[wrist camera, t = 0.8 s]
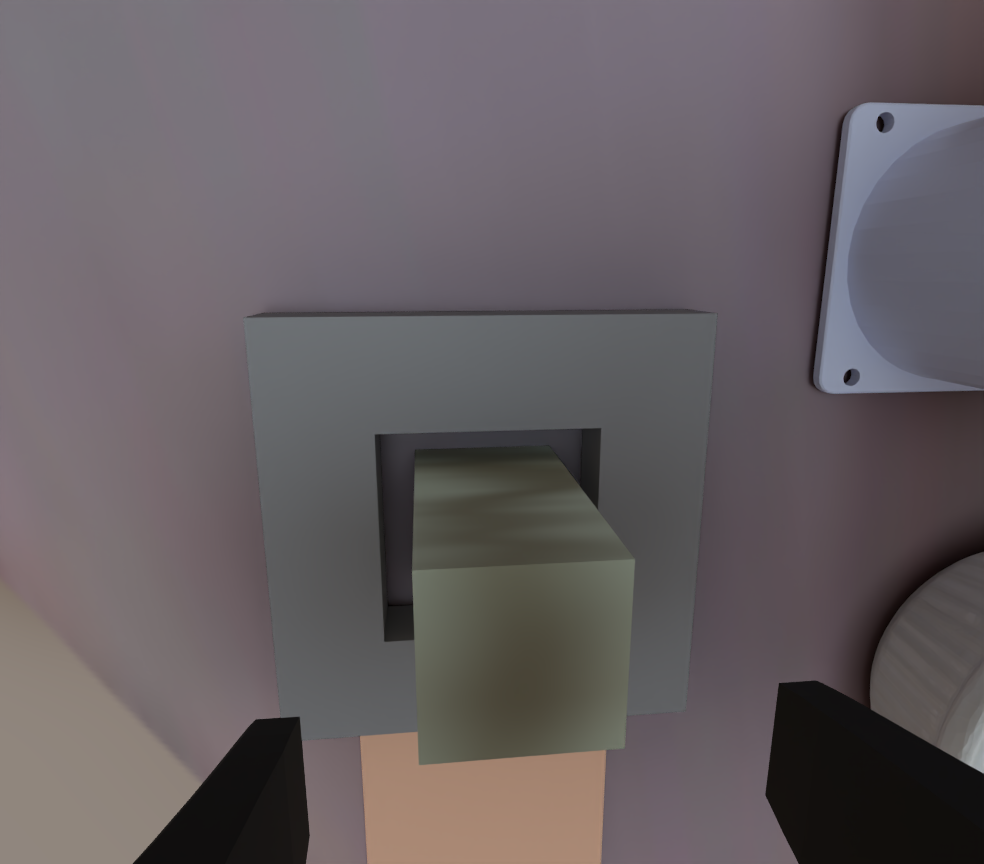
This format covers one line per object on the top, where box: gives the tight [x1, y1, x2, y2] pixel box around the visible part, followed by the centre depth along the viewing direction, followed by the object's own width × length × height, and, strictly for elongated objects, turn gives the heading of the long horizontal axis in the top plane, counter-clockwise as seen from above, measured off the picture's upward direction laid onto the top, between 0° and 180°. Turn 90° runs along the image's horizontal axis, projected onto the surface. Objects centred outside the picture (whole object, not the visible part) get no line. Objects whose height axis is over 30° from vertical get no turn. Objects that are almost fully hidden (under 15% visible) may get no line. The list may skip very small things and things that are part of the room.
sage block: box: [412, 446, 635, 765], centre depth 16 cm, size 4×4×8 cm
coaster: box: [360, 732, 606, 864], centre depth 22 cm, size 8×8×1 cm
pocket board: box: [243, 309, 718, 741], centre depth 19 cm, size 12×12×2 cm
